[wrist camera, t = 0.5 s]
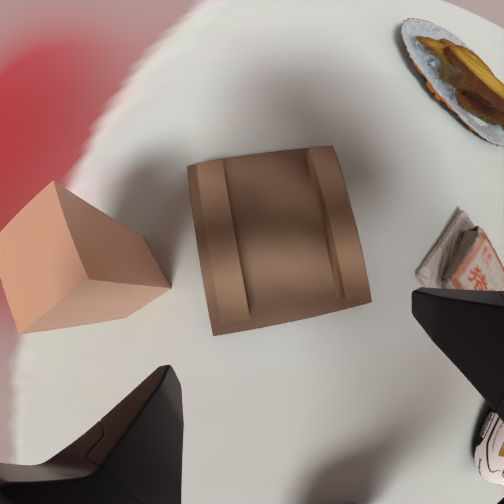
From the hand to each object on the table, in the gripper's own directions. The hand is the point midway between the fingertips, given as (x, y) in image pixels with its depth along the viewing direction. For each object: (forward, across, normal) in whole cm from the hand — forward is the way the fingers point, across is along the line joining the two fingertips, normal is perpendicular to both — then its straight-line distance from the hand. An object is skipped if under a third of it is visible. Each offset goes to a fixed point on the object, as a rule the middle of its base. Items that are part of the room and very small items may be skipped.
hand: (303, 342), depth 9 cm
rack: (+14, -2, -1) cm, 15 cm away
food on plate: (+21, -39, -17) cm, 47 cm away
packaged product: (+11, -22, +11) cm, 27 cm away
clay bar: (+14, +10, 0) cm, 18 cm away
